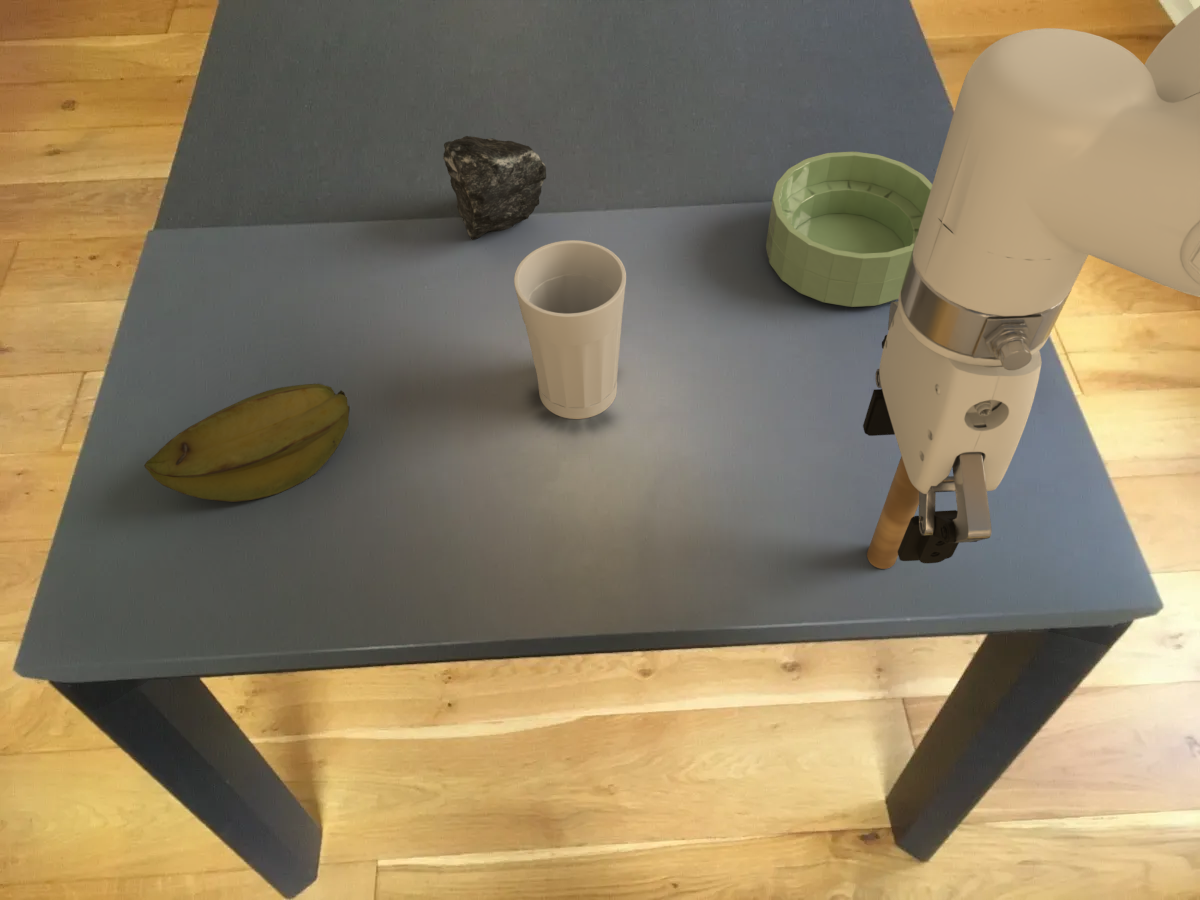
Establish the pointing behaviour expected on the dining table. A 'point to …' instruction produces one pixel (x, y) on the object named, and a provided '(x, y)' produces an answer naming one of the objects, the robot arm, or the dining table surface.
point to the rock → (493, 182)
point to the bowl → (846, 227)
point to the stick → (893, 520)
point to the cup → (573, 324)
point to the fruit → (255, 445)
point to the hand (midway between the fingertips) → (904, 490)
